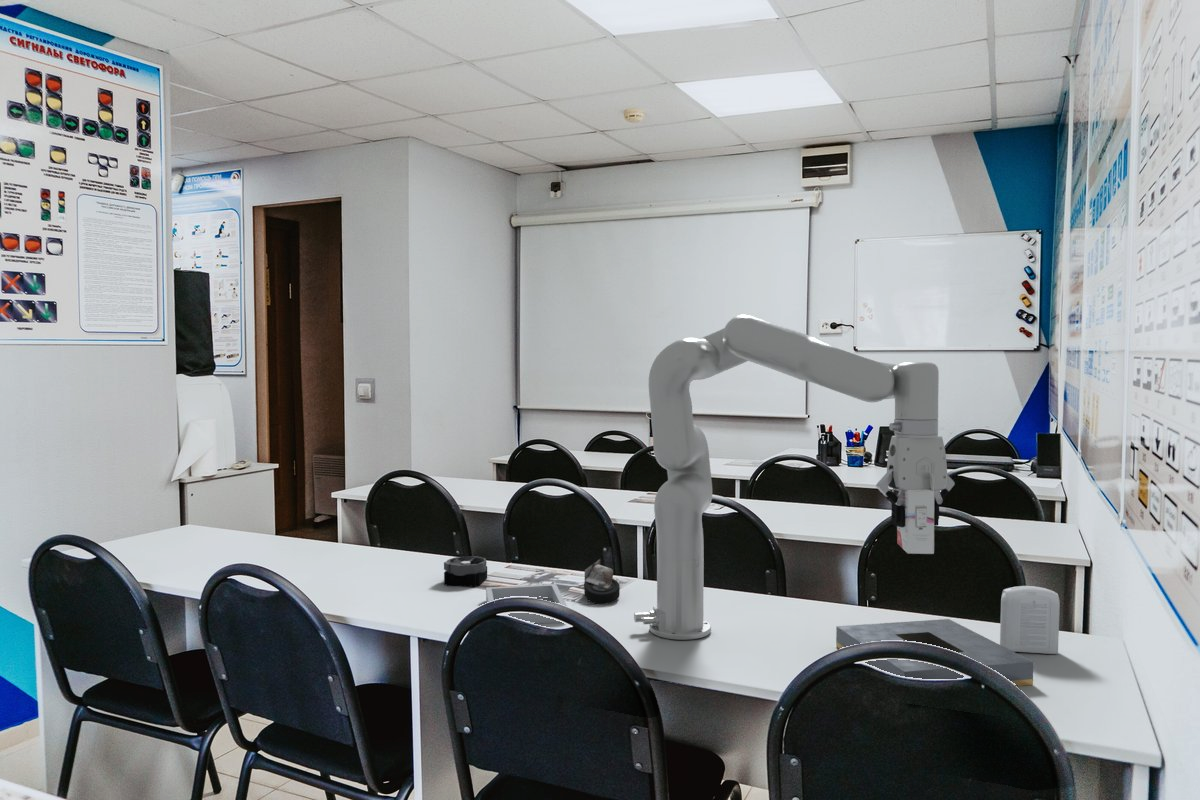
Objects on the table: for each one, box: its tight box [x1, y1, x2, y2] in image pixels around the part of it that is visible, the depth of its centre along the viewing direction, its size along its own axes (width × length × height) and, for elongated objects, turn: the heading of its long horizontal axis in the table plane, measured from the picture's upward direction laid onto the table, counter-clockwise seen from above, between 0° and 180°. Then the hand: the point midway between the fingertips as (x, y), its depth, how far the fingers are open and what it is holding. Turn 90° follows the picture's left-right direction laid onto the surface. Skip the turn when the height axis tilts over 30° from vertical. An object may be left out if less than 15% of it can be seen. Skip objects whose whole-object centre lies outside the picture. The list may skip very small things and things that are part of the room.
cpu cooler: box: [443, 555, 488, 587], centre depth 208 cm, size 10×6×10 cm
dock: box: [835, 618, 1034, 687], centre depth 149 cm, size 24×24×4 cm
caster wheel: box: [583, 559, 621, 605], centre depth 194 cm, size 7×11×10 cm
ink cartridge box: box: [896, 473, 935, 555], centre depth 153 cm, size 9×5×15 cm, turn 173°
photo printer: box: [999, 585, 1061, 655], centre depth 156 cm, size 10×4×12 cm, turn 81°
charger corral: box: [485, 583, 568, 624], centre depth 183 cm, size 16×19×3 cm
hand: (915, 524), depth 153 cm, fingers closed on ink cartridge box, 6 cm apart
